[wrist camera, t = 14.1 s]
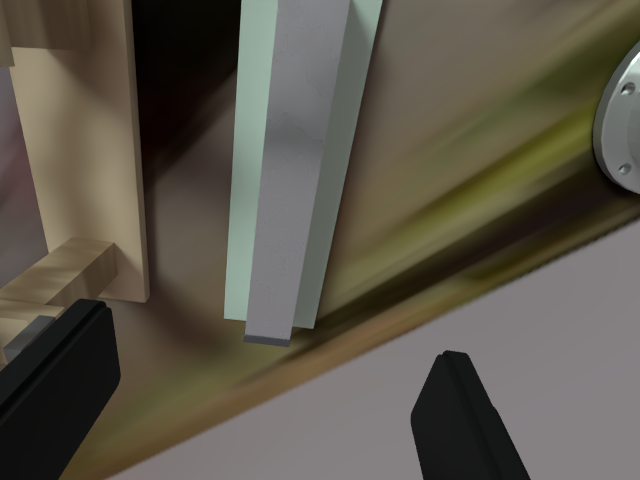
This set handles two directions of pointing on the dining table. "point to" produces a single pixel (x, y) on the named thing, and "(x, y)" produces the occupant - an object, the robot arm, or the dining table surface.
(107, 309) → the robot arm
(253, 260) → the rail
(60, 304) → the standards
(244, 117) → the mat
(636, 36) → the dining table surface
